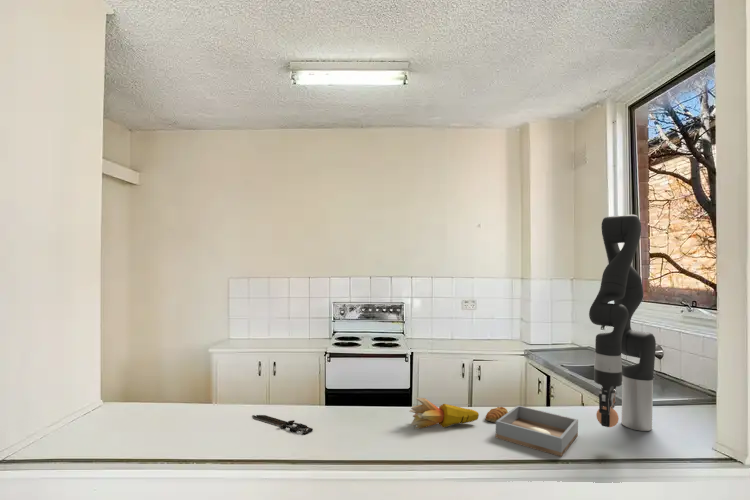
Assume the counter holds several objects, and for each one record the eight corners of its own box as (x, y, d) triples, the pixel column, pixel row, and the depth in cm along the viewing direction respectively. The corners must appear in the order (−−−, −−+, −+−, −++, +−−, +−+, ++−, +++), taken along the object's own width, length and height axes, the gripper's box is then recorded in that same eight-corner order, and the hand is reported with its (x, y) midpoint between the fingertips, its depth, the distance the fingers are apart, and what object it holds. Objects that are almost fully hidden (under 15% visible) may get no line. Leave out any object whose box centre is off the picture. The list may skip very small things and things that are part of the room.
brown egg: (598, 421, 137) (598, 402, 137) (619, 425, 134) (620, 406, 134) (594, 427, 132) (594, 407, 132) (616, 432, 129) (616, 412, 129)
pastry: (497, 425, 149) (497, 414, 149) (480, 420, 154) (480, 409, 154) (511, 419, 155) (511, 408, 155) (494, 414, 160) (495, 403, 160)
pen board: (517, 419, 154) (517, 416, 154) (577, 435, 142) (577, 431, 142) (495, 437, 139) (495, 433, 139) (561, 456, 126) (561, 451, 126)
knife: (248, 418, 149) (249, 414, 150) (263, 413, 155) (263, 409, 155) (300, 438, 135) (300, 433, 135) (315, 431, 140) (315, 427, 140)
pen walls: (517, 416, 154) (517, 405, 155) (577, 431, 142) (578, 419, 142) (495, 433, 139) (495, 421, 139) (561, 452, 126) (561, 438, 126)
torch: (476, 436, 149) (407, 431, 143) (469, 417, 156) (403, 412, 150) (484, 419, 145) (414, 413, 139) (476, 400, 152) (409, 394, 146)
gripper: (618, 375, 125) (617, 433, 125) (625, 365, 136) (624, 418, 136) (589, 371, 130) (589, 427, 130) (598, 361, 141) (598, 413, 141)
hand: (607, 422), depth 133 cm, fingers closed on brown egg, 6 cm apart
